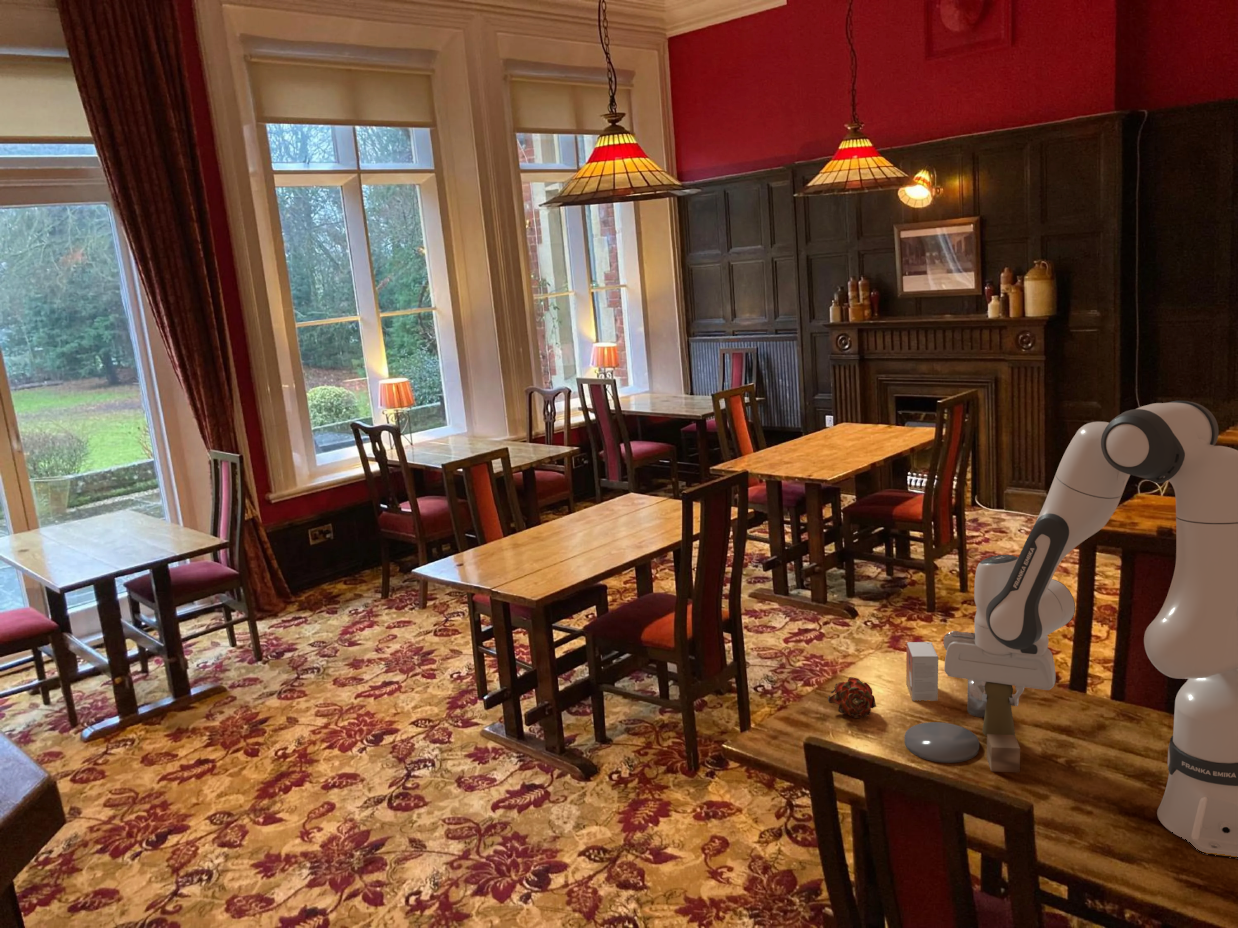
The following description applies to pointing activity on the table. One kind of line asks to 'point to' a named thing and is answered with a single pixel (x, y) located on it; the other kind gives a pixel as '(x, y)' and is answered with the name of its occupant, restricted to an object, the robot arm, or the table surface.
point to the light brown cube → (1003, 753)
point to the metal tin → (975, 700)
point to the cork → (998, 710)
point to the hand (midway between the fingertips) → (998, 702)
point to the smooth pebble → (941, 742)
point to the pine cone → (853, 698)
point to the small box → (922, 671)
